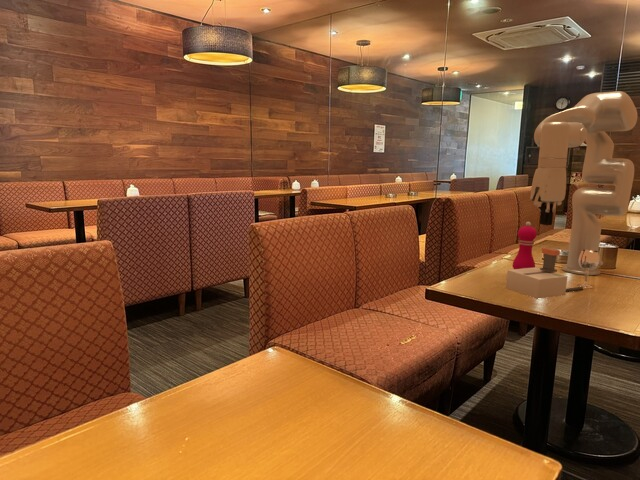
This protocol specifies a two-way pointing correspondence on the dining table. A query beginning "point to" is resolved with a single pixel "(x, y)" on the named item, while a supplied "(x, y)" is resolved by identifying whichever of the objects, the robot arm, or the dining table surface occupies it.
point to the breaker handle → (549, 259)
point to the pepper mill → (525, 247)
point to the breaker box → (538, 283)
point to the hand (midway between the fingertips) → (545, 224)
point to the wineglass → (588, 263)
